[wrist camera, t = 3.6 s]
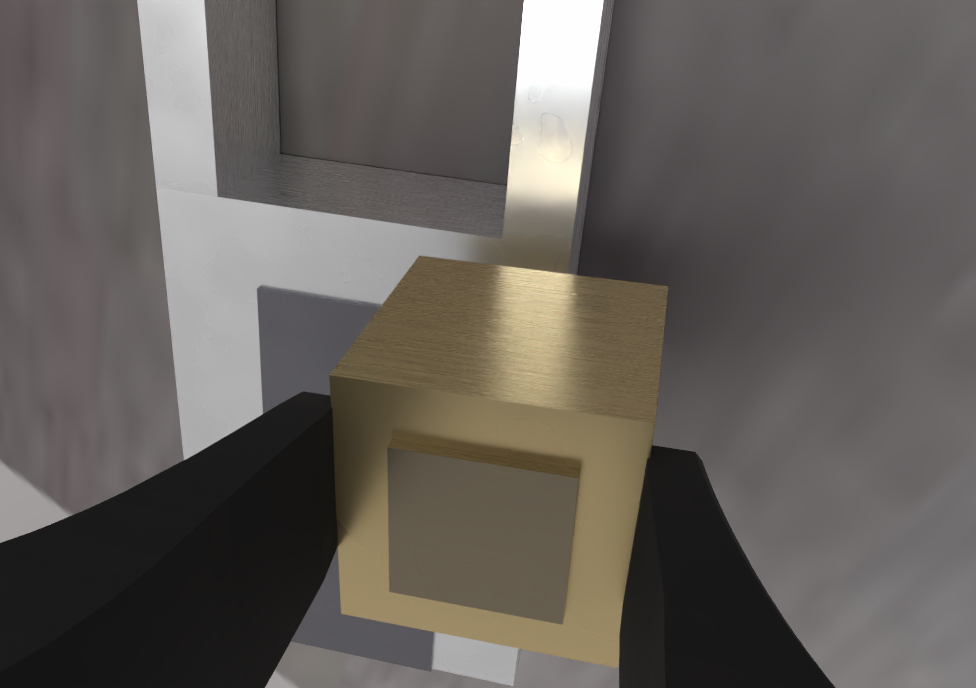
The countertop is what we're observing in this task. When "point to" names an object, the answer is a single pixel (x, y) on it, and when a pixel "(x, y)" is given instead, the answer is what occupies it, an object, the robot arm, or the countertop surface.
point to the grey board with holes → (338, 238)
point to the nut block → (497, 454)
